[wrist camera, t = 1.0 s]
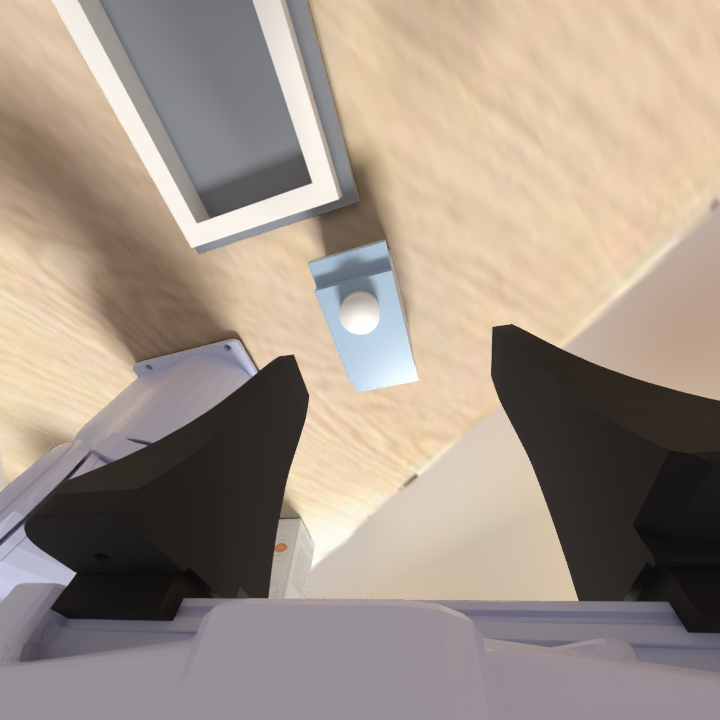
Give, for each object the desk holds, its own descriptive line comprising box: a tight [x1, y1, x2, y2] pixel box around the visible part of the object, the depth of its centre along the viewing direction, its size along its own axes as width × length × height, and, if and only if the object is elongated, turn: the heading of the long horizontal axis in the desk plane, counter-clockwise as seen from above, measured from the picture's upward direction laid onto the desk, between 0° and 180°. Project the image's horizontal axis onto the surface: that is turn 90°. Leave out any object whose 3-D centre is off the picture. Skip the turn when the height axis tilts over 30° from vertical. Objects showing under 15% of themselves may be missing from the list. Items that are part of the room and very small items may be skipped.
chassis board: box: [52, 0, 360, 254], centre depth 14 cm, size 10×14×2 cm
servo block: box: [308, 239, 418, 392], centre depth 18 cm, size 4×8×6 cm, turn 16°
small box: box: [269, 518, 314, 599], centre depth 32 cm, size 8×6×13 cm
